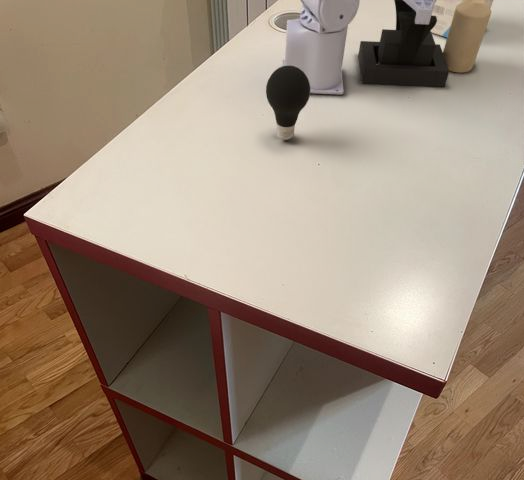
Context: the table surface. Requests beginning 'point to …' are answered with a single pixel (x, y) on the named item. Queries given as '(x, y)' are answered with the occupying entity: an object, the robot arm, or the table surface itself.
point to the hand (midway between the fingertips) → (403, 54)
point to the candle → (466, 34)
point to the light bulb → (287, 97)
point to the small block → (391, 47)
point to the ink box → (446, 15)
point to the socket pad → (401, 69)
